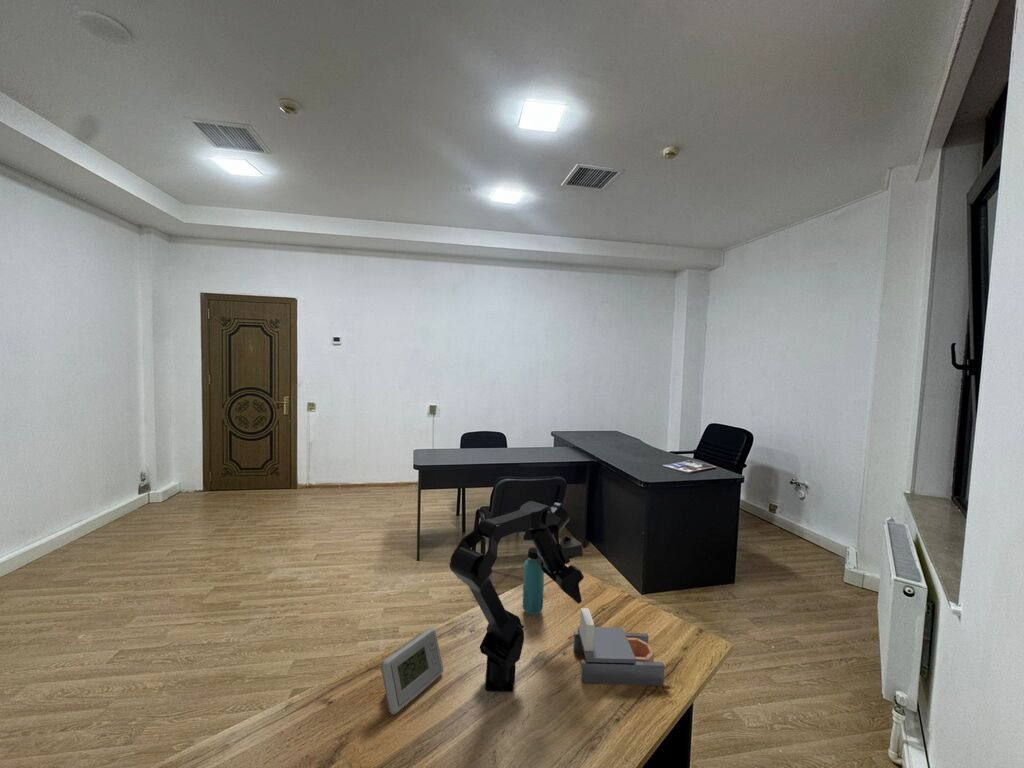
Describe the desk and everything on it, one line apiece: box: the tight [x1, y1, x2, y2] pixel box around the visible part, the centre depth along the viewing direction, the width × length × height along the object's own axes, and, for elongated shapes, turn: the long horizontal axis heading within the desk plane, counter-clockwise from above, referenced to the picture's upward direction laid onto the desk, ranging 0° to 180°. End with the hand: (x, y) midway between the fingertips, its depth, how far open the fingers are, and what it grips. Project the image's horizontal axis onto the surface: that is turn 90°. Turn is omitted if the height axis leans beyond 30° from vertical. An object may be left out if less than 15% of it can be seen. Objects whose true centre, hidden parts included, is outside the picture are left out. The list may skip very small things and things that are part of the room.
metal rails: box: [572, 630, 666, 687], centre depth 105 cm, size 20×12×5 cm, turn 91°
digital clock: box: [380, 626, 444, 715], centre depth 95 cm, size 16×9×11 cm, turn 135°
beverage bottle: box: [521, 547, 545, 615], centre depth 126 cm, size 6×7×20 cm
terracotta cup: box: [627, 638, 655, 662], centre depth 105 cm, size 8×8×5 cm
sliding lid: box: [577, 607, 636, 663], centre depth 104 cm, size 12×12×8 cm
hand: (572, 595), depth 110 cm, fingers open, 9 cm apart
